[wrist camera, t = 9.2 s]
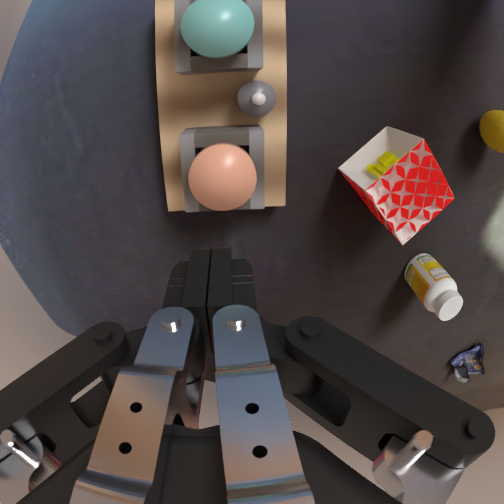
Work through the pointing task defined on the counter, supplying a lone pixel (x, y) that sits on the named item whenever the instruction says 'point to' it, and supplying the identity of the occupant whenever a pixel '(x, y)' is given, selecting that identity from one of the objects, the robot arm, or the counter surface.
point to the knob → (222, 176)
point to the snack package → (468, 363)
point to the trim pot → (256, 98)
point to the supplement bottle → (433, 286)
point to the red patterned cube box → (398, 181)
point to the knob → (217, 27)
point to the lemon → (493, 129)
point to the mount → (221, 103)
